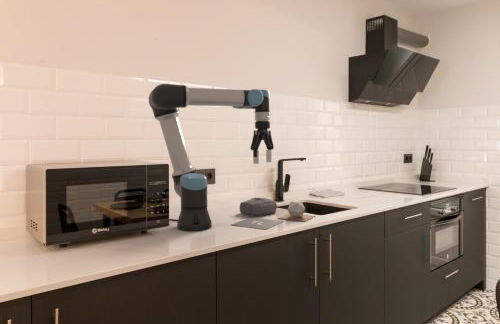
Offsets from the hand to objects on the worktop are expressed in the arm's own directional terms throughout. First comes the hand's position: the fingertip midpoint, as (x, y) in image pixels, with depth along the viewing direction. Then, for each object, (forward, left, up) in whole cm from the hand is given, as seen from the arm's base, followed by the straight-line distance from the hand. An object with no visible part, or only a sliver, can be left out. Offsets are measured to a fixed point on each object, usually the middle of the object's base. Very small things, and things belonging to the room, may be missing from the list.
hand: (262, 162), depth 190 cm
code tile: (-18, -7, -27) cm, 33 cm away
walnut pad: (+2, -18, -27) cm, 32 cm away
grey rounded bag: (+4, +4, -27) cm, 28 cm away
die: (+2, -18, -27) cm, 32 cm away
